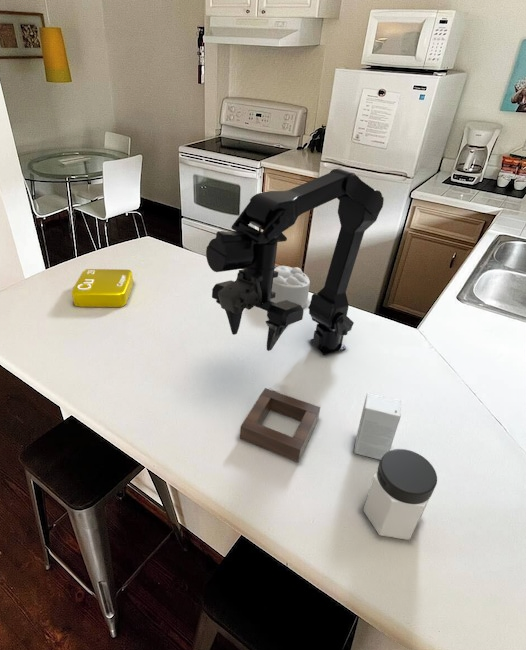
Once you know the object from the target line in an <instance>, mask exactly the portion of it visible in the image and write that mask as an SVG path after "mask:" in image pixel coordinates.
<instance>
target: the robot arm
mask: <svg viewBox="0 0 526 650" xmlns="http://www.w3.org/2000/svg"><path fill="white" fill-rule="evenodd" d="M336 199H337V200H338V207H337V216H338V219H339V223H340V229H339V232H338V237H337V239H336V243H335V247H334V250H333V254H332V257H331V261H330V264H329V268H328V271H327V275H326V278H325V282H324V285H323V287H322V288H321V289H320V290H319V291H318V292H317V293H313V294H312V295H311V299H310V302H309V305H308V307H307V308H308V309H309V310H308V314H309V315H310V318H311V321H313V322H315V323H316V325H315V326H316V327H315V330H314V332H313V337H312V338H311V339H310V341H309V342H310V343H311V344H312V345H313V346H314V347H315V348H316V349H317V351H319V353H320V354H321V355H322V356H328V355H332V354H335V353H338V352H342V351H345V350H346V346H345V345H344V344H343V340H344V336H347V335H348V333H349V332H351V330H352V328H353V326H354V323H355V322H354V321H353V320H351V318H350V317H348V311H349V304H350V303H349V300H348V297H347V296H348V295H347V289H348V286H349V283H350V280H351V276H352V273H353V269H354V266H355V263H356V260H357V256H358V254H359V251H360V247H361V244H362V240H363V238H364V234H365V232H366V231H367V230H368V229H369V228H370V227H371V226H372V225H373V224H374V223H376V222H377V219H378V218H379V215H380V212H381V211H382V209H383V206H384V201H385V199H384V196H383V194H382V192H381V191H380V190H378V189H375V188H373V187H372V186H370V185H368V184H367V183H366V182H364V181H363V180H362V179H361V178H360V177H359V176H358V175H356V173H354V172H352V171H349V170H345V169H342V168H333V169H331V170H330V171H329V172H327V173H326V174H323V175H321V176H319V177H317V178H314V179H312V180H309V181H306V182H304V183H302V184H299V185H297V186H295V187H293V188H290V189H287V190H269V191H264V192H259V193H256V194H254V195H252V197H251V198H250V199H249V202H248V204H247V205H246V206H245V207H244V209H243V210H242V212H241V213H240V214H239V216H238V217H237V219H236V220H235V221H234V222H233V224H231V227H230V228H231V230H232V231H225V230H219V231H216V235H215V237H214V238H212V239H211V240H210V241H209V243H208V244H207V246H206V250H205V257H206V263H207V264H208V267H209V268H210V269H211V270H212V271H213V272H215V273H222V272H228V271H237V270H238V272H237V275H236V280H231V279H230V280H226V281H222V282H218V283H215V284H214V286H213V288H212V289H211V298H212V299H214V300H215V302H216V304H218V305H219V306H220V308H221V309H223V310H225V314H226V317H227V320H228V324H229V327H230V331H231V335H233V336H235V335H237V334H238V331H239V329H240V325H241V321H242V316H243V312H244V310H245V309H246V310H249V311H251V310H252V309H253V308H254V307H255V308H259V309H261V310H264V311H266V317H267V319H268V320H265V322H264V323H265V324H266V326H267V327H268V331H267V339H266V351H268V352H269V351H272V350H273V348H274V347H275V345H276V344H277V342H278V341H279V339H280V337H281V336H282V334H283V333H284V332H285V330H286V329H287V328H288V326H289V325H292V324H295V323H298V322H300V321H303V318H304V308H302V306H301V305H299V304H296V303H293V302H290V301H288V300H284V301H281V302H278V303H274V302H272V301H271V299H272V298H275V295H276V293H275V292H273V291H272V286H273V278H276V277H278V272H277V271H274V269H275V268H276V259H277V251H278V243H282V242H287V241H288V238H287V236H286V235H285V234H284V232H285V231H286V230H288V229H289V228H291V227H293V226H294V225H295V223H296V222H297V219H298V218H299V217H300V216H301V215H303V214H306V213H307V212H309V211H312V210H314V209H315V208H318V207H320V206H322V205H324V204H326V203H329V202H332V201H333V200H336ZM250 224H251V225H252V226H254V227H252V226H251V225H250ZM255 227H256V228H255ZM257 228H258V229H257ZM259 229H260V230H262V231H260V230H259Z"/></svg>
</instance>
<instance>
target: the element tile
mask: <svg viewBox="0 0 526 650" xmlns="http://www.w3.org/2000/svg"><path fill="white" fill-rule="evenodd" d="M133 287H134V276H133V271H132V270H131V269H120V268H119V269H117V268H115V269H113V268H112V269H111V268H109V269H108V268H107V269H106V268H87V269H84V270H83V271H82V272H81V274H80V276H79V277H78V279H77V281H76V282H75V284H74V285H73V287H72V289H71V297H72V301H73V304H74V306H75V307H80V308H81V307H82V308H121V307H124V306H126V305H127V303H128V300H129V298H130V295H131V292H132V289H133Z"/></svg>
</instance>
